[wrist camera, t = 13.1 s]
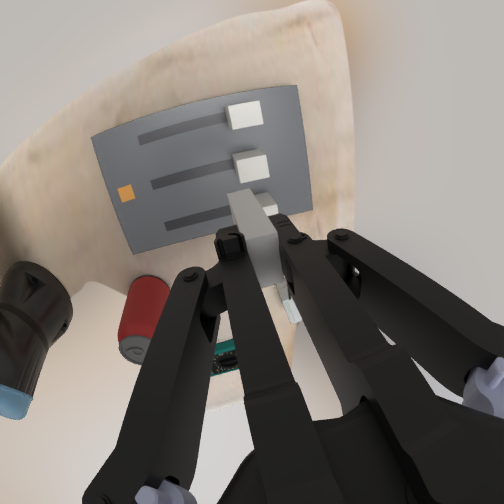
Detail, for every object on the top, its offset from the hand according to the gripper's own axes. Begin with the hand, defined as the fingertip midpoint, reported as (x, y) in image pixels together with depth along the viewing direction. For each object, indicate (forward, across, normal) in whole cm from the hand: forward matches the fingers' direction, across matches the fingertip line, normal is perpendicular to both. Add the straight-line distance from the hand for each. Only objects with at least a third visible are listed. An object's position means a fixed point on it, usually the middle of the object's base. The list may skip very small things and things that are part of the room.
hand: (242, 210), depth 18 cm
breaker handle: (+14, +3, 0) cm, 14 cm away
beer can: (+17, -15, -16) cm, 28 cm away
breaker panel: (+17, -2, 0) cm, 17 cm away
